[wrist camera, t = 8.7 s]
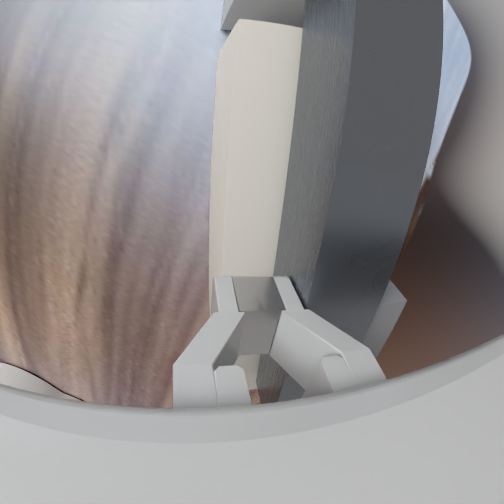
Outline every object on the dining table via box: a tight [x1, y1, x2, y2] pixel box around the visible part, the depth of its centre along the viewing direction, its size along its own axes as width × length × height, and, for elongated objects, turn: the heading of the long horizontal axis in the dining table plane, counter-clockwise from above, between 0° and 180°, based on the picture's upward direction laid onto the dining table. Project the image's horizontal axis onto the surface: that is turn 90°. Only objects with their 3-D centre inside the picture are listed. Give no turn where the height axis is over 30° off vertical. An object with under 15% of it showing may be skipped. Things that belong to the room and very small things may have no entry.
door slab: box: [209, 19, 407, 390], centre depth 13 cm, size 17×6×11 cm, turn 175°
